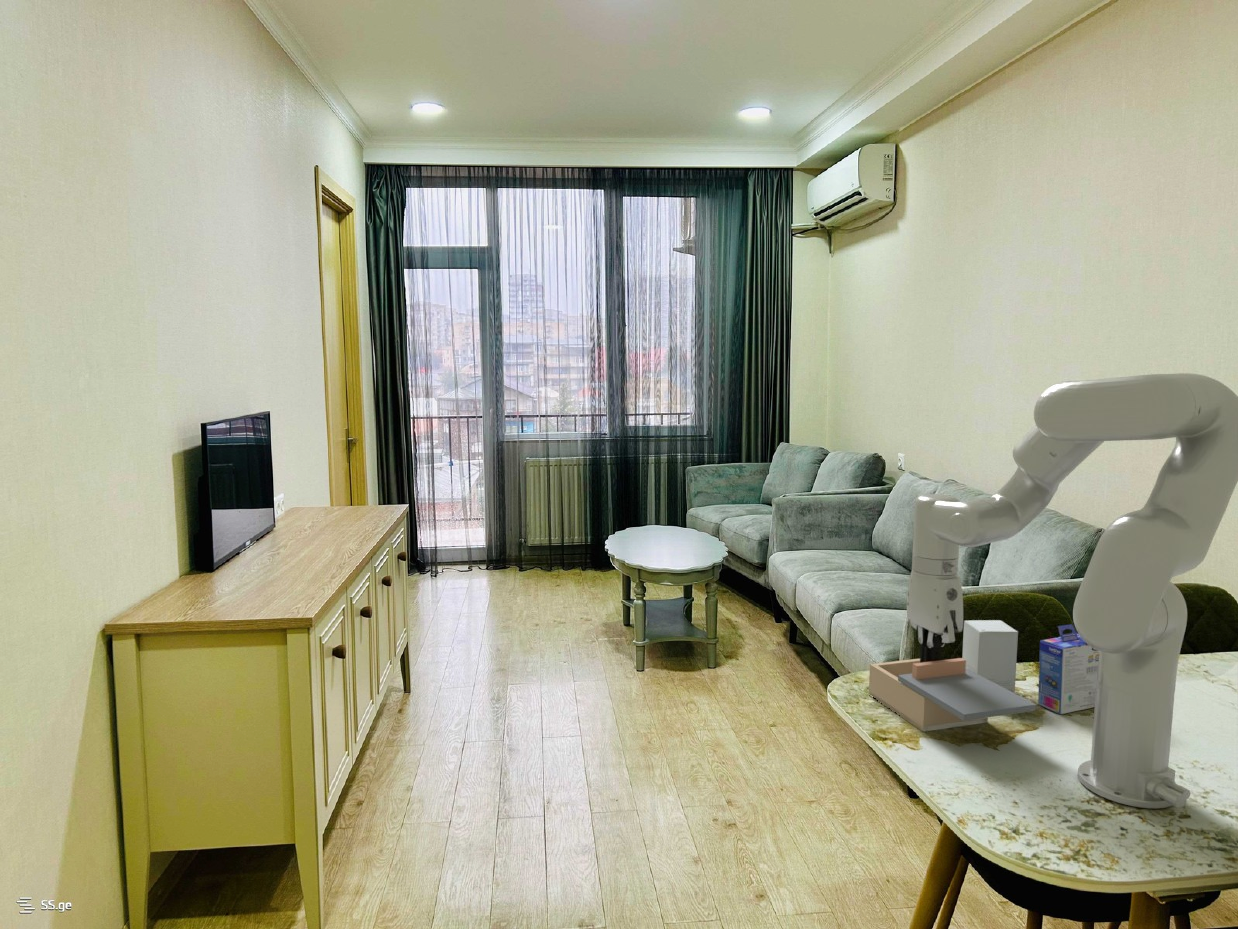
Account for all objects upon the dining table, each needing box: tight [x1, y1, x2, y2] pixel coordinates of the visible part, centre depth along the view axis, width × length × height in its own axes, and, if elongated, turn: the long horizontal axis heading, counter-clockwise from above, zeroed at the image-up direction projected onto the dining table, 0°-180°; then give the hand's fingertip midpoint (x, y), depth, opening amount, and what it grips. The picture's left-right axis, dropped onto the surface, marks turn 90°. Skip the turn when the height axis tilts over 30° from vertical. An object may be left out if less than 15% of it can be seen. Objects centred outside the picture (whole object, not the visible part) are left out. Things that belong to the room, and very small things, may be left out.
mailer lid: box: [898, 657, 1037, 721], centre depth 138 cm, size 17×14×3 cm
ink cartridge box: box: [1037, 624, 1100, 715], centre depth 148 cm, size 10×6×14 cm, turn 112°
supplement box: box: [961, 619, 1019, 694], centre depth 155 cm, size 7×7×13 cm
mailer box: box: [868, 658, 989, 732], centre depth 147 cm, size 16×13×6 cm
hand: (930, 666), depth 146 cm, fingers closed
